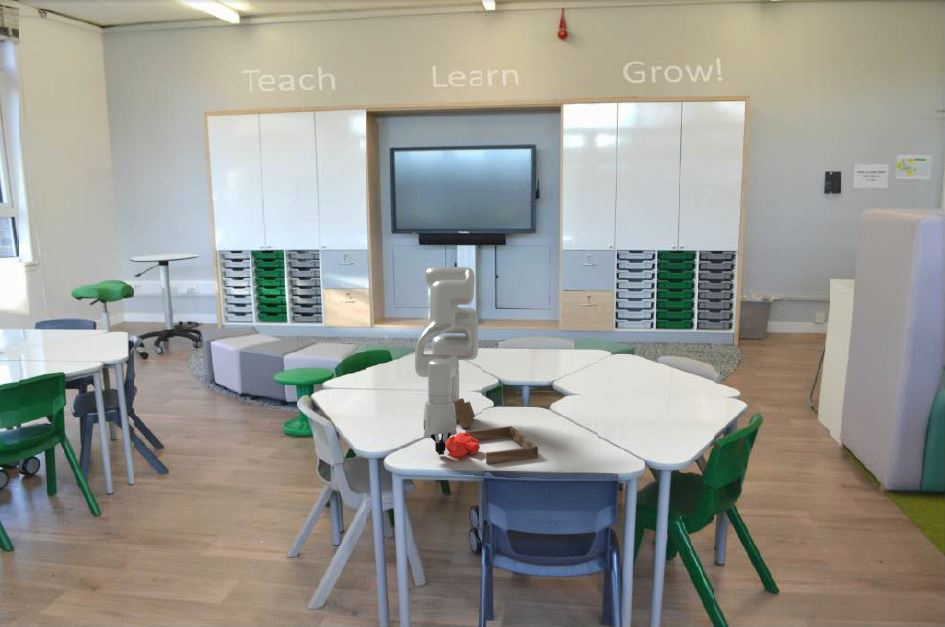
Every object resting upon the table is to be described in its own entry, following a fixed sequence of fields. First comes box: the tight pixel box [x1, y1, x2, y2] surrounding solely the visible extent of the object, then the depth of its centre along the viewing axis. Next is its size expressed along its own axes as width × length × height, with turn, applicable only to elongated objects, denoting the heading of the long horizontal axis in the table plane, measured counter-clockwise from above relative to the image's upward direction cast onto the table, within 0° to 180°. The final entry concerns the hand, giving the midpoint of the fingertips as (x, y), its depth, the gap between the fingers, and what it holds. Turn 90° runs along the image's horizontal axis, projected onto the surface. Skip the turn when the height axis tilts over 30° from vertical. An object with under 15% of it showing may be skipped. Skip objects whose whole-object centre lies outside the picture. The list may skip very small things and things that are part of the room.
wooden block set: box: [453, 397, 476, 429], centre depth 255 cm, size 18×9×10 cm, turn 154°
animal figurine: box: [445, 432, 481, 460], centre depth 227 cm, size 12×15×5 cm
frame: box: [464, 425, 539, 465], centre depth 231 cm, size 22×17×4 cm
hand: (440, 453), depth 224 cm, fingers closed
